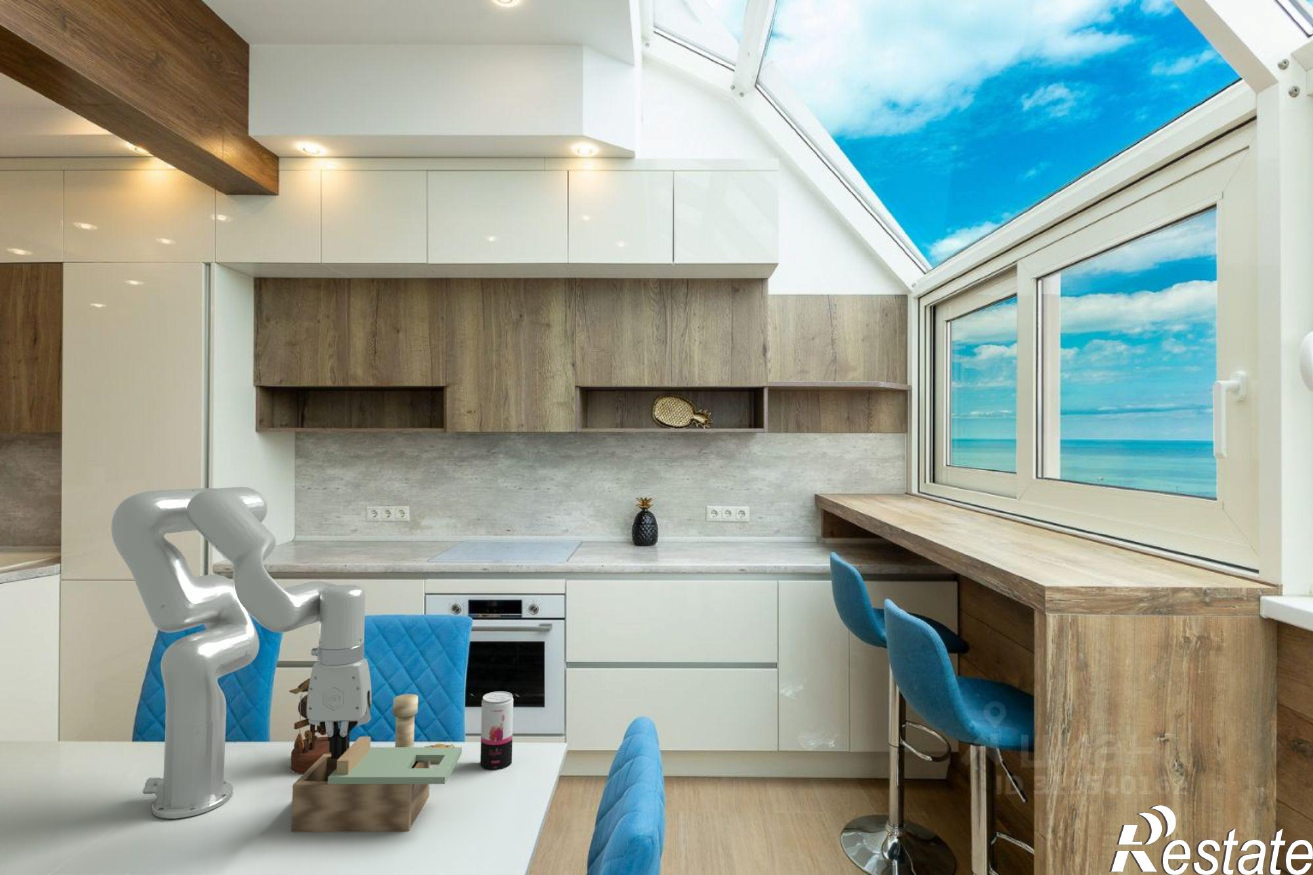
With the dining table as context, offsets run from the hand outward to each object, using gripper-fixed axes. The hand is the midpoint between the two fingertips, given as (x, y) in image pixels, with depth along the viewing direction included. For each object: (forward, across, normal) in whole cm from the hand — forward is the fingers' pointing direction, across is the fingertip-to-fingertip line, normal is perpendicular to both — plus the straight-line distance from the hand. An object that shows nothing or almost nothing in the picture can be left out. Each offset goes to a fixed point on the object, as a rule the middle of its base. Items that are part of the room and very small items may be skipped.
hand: (339, 755), depth 123 cm
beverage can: (+12, +24, +20) cm, 34 cm away
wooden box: (+11, +5, 0) cm, 12 cm away
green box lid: (+2, +11, 0) cm, 11 cm away
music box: (+11, -14, +23) cm, 29 cm away
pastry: (+12, +11, +23) cm, 28 cm away
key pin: (+11, +6, +16) cm, 21 cm away
